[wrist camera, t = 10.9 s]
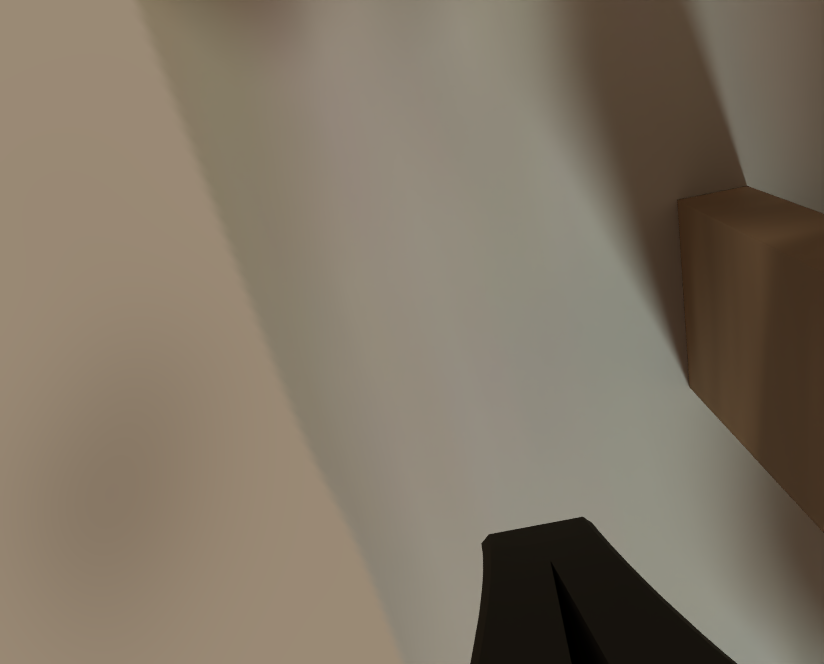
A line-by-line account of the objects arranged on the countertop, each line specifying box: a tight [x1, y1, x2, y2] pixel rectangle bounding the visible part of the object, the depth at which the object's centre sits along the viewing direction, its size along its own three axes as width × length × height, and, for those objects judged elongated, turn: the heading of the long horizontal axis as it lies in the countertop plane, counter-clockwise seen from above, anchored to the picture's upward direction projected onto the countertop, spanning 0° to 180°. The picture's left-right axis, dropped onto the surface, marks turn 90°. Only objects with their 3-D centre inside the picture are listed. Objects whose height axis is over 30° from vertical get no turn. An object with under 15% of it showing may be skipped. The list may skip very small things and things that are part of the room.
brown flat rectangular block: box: [677, 186, 824, 532], centre depth 14 cm, size 2×5×8 cm, turn 11°
